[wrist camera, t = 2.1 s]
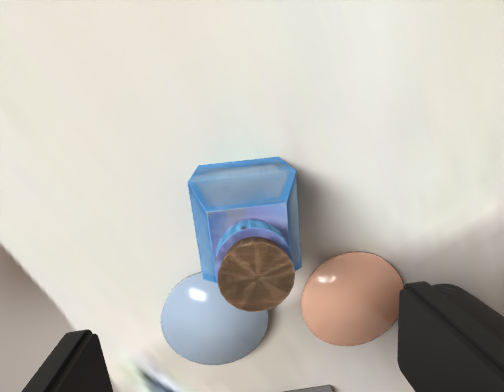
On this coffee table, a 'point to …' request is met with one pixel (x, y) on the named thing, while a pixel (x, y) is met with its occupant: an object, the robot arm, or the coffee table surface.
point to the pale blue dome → (209, 324)
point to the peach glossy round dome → (351, 298)
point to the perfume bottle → (247, 229)
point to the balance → (315, 389)
